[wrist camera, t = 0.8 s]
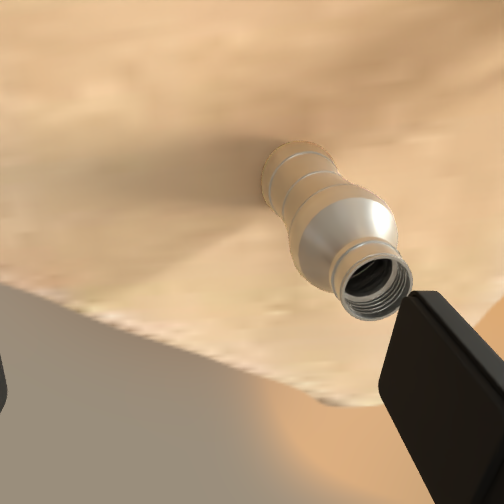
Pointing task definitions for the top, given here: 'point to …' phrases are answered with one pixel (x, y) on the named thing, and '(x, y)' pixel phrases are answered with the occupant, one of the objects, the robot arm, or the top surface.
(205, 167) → the top surface
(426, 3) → the top surface
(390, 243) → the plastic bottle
